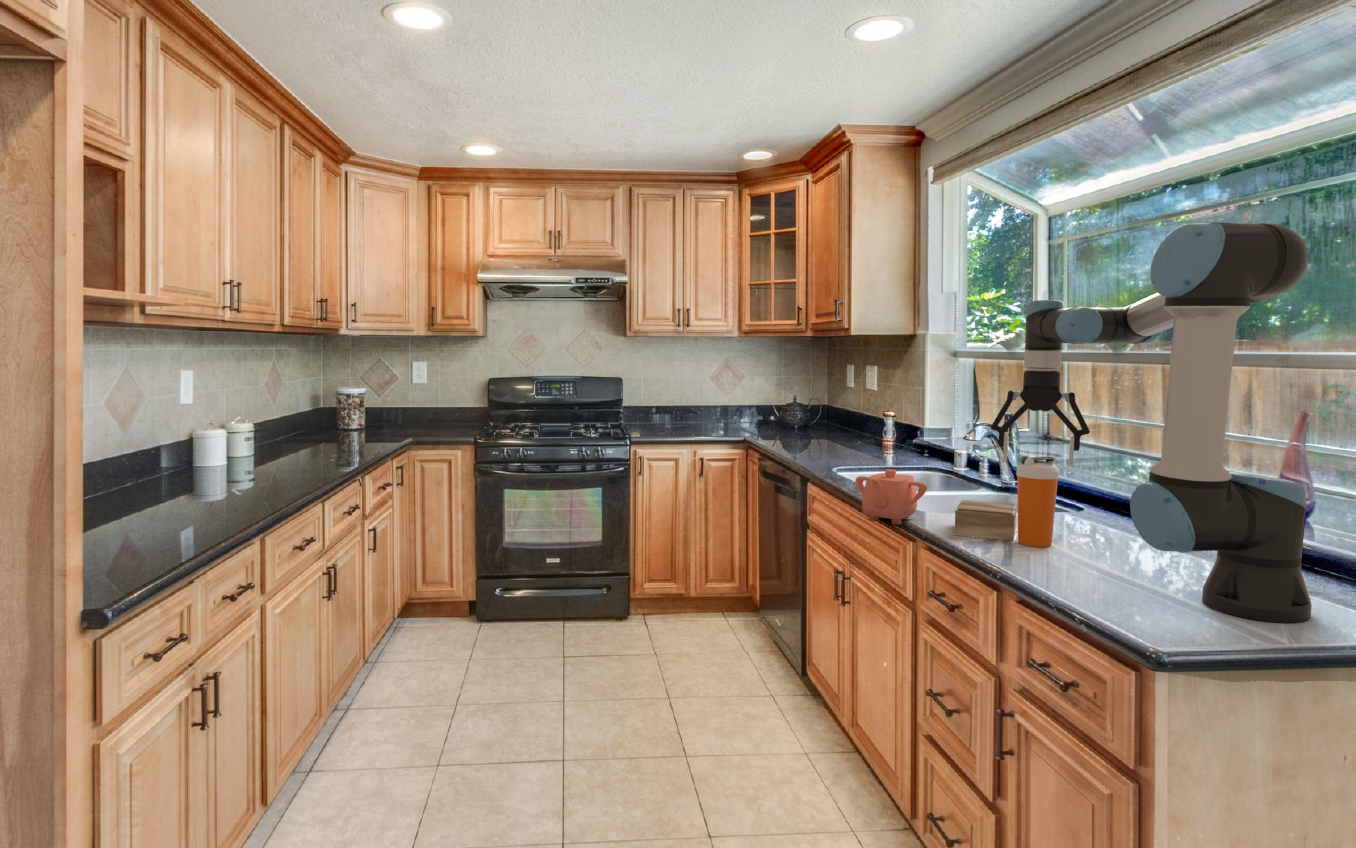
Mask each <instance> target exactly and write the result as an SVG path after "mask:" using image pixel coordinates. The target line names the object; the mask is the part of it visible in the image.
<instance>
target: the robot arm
mask: <svg viewBox="0 0 1356 848" xmlns="http://www.w3.org/2000/svg"><path fill="white" fill-rule="evenodd" d="M1308 262H1309V250H1308V248H1307V245H1306V242H1305V241H1304V240H1303V238H1301V236H1300V235H1299V234H1298V233H1297V232H1296V231H1294V230H1292V229H1290V228H1288V227H1287V226H1283V225H1281V224H1277V223H1276V224H1275V223H1266V222H1264V223H1263V222H1262V223H1261V222H1260V223H1253V222H1250V223H1249V222H1223V221H1221V222H1219V221H1211V222H1209V221H1206V222H1196V223H1187V224H1182V225H1180V226H1178V227H1176V228H1174V229H1173V230H1172V231H1170V232H1169V233H1168V234H1167V235H1166V236H1165V238H1164V239H1163V240H1162V241H1161V242H1160V243H1159V245H1158V247H1157V248H1156V250H1155V252H1154V253H1153V256H1152V260H1151V263H1150V269H1149V270H1150V271H1149V274H1150V279H1149V280H1150V282H1151V284H1153V286H1152V288H1153V289H1154V290H1155V292H1156V293H1154V294H1152V295H1149V296H1147V297H1145V298H1143V299H1140V300H1138V301H1136V302H1134V303H1132V304H1129V305H1127V306H1125V307H1087V306H1072V307H1065V303H1064V301H1063V300H1059V299H1041V300H1038V299H1036V300H1031V301H1029V302H1028V304H1027V306H1026V307H1027V309H1026V316H1025V332H1024V333H1025V336H1024V337H1025V338H1024V357H1023V358H1024V359H1023V367H1024V368H1025V369H1026V370H1024V371H1023V381H1022V390H1021V391H1015V390H1013V389H1010V390H1008V392H1007V396H1006V400H1005V402H1004V404H1003V405H1002V407H1001V409H1000V411H999V412H998V414H997V415H996V417H995V419H994V421H993V423H992V424H991V426H990V429H991V430H992V431H996V432H997V433H998V447H999V448H1000V447H1001V448H1003V455H1002V456H1003V457H1002V463H1007V461H1008V450H1009V449H1008V447H1009V432H1006V431H1007V430H1008V429H1009V428H1010V427H1011V426H1012V425H1013V424H1014V423H1015V422H1016V421H1017V420H1018V419H1019V418H1020V417H1021V416H1022V415H1023V414H1024V413H1025V412H1027V410H1031V412H1039V411H1040V412H1050V411H1051V410H1052V411H1053V412H1054V413H1055V414H1056V415H1057V417H1058V418H1059V419H1060V420H1061V421H1062V422H1063V423H1064V425H1065V426H1066V428H1068V430H1070V432H1071V433H1072V434H1073V435H1069V453H1068V466H1069V467H1073V465H1074V452H1076V451H1077V452H1078V451H1079V450H1080V446H1081V445H1080V444H1081V443H1080V442H1081V438H1082V436H1085V435H1088V434H1090V433H1091V432H1090V429H1089V426H1088V424H1087V423H1086V420H1085V418H1084V417H1083V415H1082V413H1081V411H1080V409H1079V406H1078V405H1077V403H1076V393H1075V391H1069V392H1061V390H1060V389H1061V372H1060V371H1059V369H1061V365H1062V350H1063V349H1062V347H1063V344H1068V345H1069V344H1071V345H1084V344H1131V345H1138V344H1140V345H1141V344H1147V343H1149V344H1150V343H1152V342H1154V341H1156V340H1157V338H1158V336H1160V335H1161V333H1162V332H1164V331H1167V330H1169V329H1172V335H1171V337H1172V338H1171V346H1170V347H1171V348H1170V358H1169V371H1168V381H1167V390H1166V391H1167V392H1166V393H1167V394H1166V401H1165V414H1164V422H1163V423H1164V424H1163V435H1162V446H1161V459H1160V460H1159V461H1158V462H1156V463H1155V464H1153V465H1152V466H1151V467H1150V468H1149V475H1148V481H1146V482H1143V483H1140V484H1139V485H1137V486H1136V488H1135V489H1134V490H1133V491H1132V493H1131V496H1130V501H1129V507H1130V515H1131V516H1130V517H1131V520H1132V523H1133V526H1134V527H1135V529H1136V530H1137V532H1138V534H1139V536H1140V537H1141V539H1142V540H1143V541H1144V542H1145V543H1146V544H1148V545H1149V546H1150V547H1152V549H1153V548H1154V549H1156V550H1158V551H1161V552H1177V553H1182V554H1184V553H1185V554H1186V553H1189V552H1213V551H1214V552H1215V551H1216V552H1217V553H1216V560H1215V562H1214V564H1213V565H1212V568H1211V570H1210V572H1209V574H1208V576H1207V577H1206V580H1205V583H1204V584H1203V587H1202V595H1201V601H1202V602H1203V603H1204V604H1205V605H1206V606H1208V607H1210V608H1212V609H1214V610H1217V611H1220V612H1222V613H1224V614H1229V615H1232V616H1236V617H1241V618H1246V619H1250V620H1256V621H1257V620H1258V621H1263V622H1275V623H1300V622H1305V620H1306V621H1308V620H1310V618H1311V616H1312V602H1311V598H1310V596H1309V592H1308V589H1307V586H1306V583H1305V579H1304V576H1303V572H1302V559H1303V548H1304V537H1305V527H1306V526H1305V525H1306V516H1307V510H1308V506H1307V502H1306V501H1307V492H1306V489H1305V487H1304V486H1303V485H1302V484H1301V483H1299V482H1296V481H1295V480H1290V479H1284V478H1283V479H1282V478H1278V477H1273V476H1268V475H1259V474H1256V473H1254V474H1253V473H1248V472H1240V471H1231V470H1230V471H1228V470H1227V469H1226V468H1225V467H1224V465H1223V458H1224V452H1225V451H1224V449H1225V440H1226V432H1227V431H1226V429H1227V420H1228V419H1227V418H1228V411H1229V401H1230V390H1231V380H1232V371H1233V362H1234V352H1235V343H1236V333H1237V325H1238V324H1237V323H1238V319H1239V318H1240V316H1242V315H1243V314H1244V313H1246V311H1248V310H1249V309H1250V308H1251V304H1256V303H1259V302H1262V301H1264V300H1267V299H1270V298H1273V297H1276V296H1278V295H1280V294H1284V292H1287V291H1289V290H1290V289H1291V288H1293V287H1295V286H1296V285H1297V283H1299V281H1300V280H1301V279H1302V278H1303V276H1304V274H1305V272H1306V271H1307V267H1308V264H1309V263H1308ZM1019 397H1020V398H1021V400H1022V401H1023V404H1022V406H1020V407H1019V408H1018V410H1017V411H1015V413H1013V415H1011V417H1010V418H1009V419H1007V421H1006V422H1004V423H1003V424H1002V425H1001V426H1000V425H999V424H1000V423H1001V421H1002V420H1003V418H1004V417H1005V415H1006V413H1007V411H1008V409H1010V408H1009V407H1010V406H1011V404H1012V402H1013V401H1016V400H1017V399H1018V398H1019ZM1061 399H1063V400H1064V401H1065V402H1066V403H1069V406H1070V407H1071V410H1072V412H1073V414H1074V416H1075V418H1076V420H1077V421H1078V424H1079V425H1080V428H1081V429H1078V428H1077V426H1076V425H1075V424H1074V423H1073V422H1072V421H1071V420H1070V419H1069V418H1068V416H1067V415H1066V414H1065V413H1064V412H1063V410H1061V408H1060V407H1059V406H1058V402H1060V401H1061Z"/></svg>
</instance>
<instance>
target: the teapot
mask: <svg viewBox="0 0 1356 848" xmlns="http://www.w3.org/2000/svg"><path fill="white" fill-rule="evenodd" d="M864 481H865V484H864ZM855 485H856V487H857V489H858V490H859V492H860V493H861V494H862V501H861V510H862V513H863V515H864V516H869V518H867V521H869V522H879V519H880V518H884V519H891V524H893V525H902V524H903V521H902V520H904V519H908V518H911V516H913V514H915V512H916V511H917V508H918V500H920V499H921V498H922V497H923V496H924V495H925V493H926V492H927V490H928V485H927V484H926V483H925V482H921V481H915V477H914V476H913V475H909V474H908V475H907V474H900V473H899V474H897V470H896V469H890V468H889V469H888V468H887V469H885V470H884V472H881V473H875V474H873V475H870V476H862V475H861V476H857V477H855ZM917 487H918V491H917ZM904 521H905V520H904Z"/></svg>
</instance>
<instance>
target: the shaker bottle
mask: <svg viewBox="0 0 1356 848" xmlns="http://www.w3.org/2000/svg"><path fill="white" fill-rule="evenodd" d="M1055 460H1057V458H1056V457H1053V456H1034V457H1029V456H1027V455H1022V456H1021V457H1020V459H1019V465H1018V466H1017V467H1016V477H1017V478H1016V479H1017V480H1016V483H1017V543H1018V544H1020V545H1023V546H1025V547H1026V546H1027V547H1032V548H1033V547H1034V548H1046V547H1047V548H1048V547H1051V546H1052V543H1053V534H1054V523H1055V515H1056V514H1055V513H1056V503H1057V492H1058V481H1059V479H1060V469H1059V467H1058V466H1057V465H1055Z"/></svg>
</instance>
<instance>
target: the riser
mask: <svg viewBox="0 0 1356 848" xmlns="http://www.w3.org/2000/svg"><path fill="white" fill-rule="evenodd" d="M954 513H955V514H954V536H957V535H958V537H967V536H974V537H973V538H978V537H980V539H988V540H989V539H990V540H1001V541H1011V542H1012V541H1013V542H1014V541H1015V534H1016V524H1017V523H1016V521H1017V505H1016V504H1015V503H1010V502H1009V503H1007V502H994V501H983V500H982V501H981V500H969V499H968V500H967V499H962V500H960V501H959V503H958V505H957V507H956V509H955V512H954Z"/></svg>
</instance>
